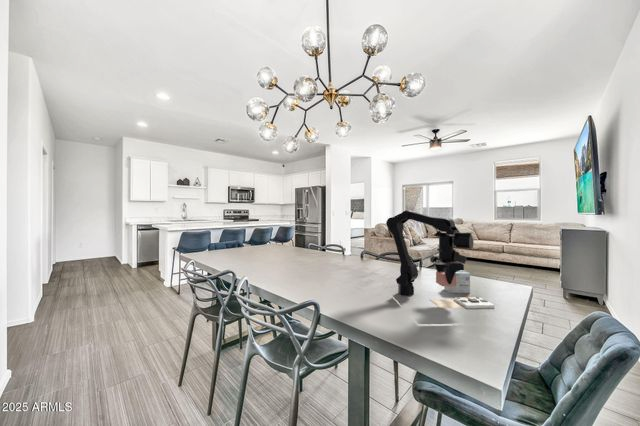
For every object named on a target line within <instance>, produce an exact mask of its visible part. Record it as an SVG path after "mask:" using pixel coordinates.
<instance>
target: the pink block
mask: <svg viewBox="0 0 640 426" xmlns="http://www.w3.org/2000/svg"><path fill="white" fill-rule="evenodd" d="M435 283H436V284H437V285H439V286H441V287H444V286H456V274H455V275H454V277H453V280H452V283H451V284H448V282H447V279H446V275H445V272H437V271H436V272H435Z"/></svg>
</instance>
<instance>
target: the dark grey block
mask: <svg viewBox="0 0 640 426" xmlns="http://www.w3.org/2000/svg"><path fill="white" fill-rule="evenodd" d="M468 301H470V302H472V303H479V301H478V300H477V299H468Z"/></svg>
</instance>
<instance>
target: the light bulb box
mask: <svg viewBox="0 0 640 426" xmlns="http://www.w3.org/2000/svg"><path fill="white" fill-rule="evenodd" d="M455 274H456V286H443V287H444V289H443V290H444V291H446V292H448V293H455V294H458V293H459V294H471V273H470V272H469V271H466V270H460V271H457V272H456V273H455Z"/></svg>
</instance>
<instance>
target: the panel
mask: <svg viewBox="0 0 640 426" xmlns="http://www.w3.org/2000/svg"><path fill="white" fill-rule="evenodd" d="M468 299H477V300H478V301H479V303H472V302H470V301H468ZM453 301H454V302H455V303H457V304H458V305H460V306H462V307H464V308H465V309H495V307H496V306H495V305H496V304H494V303H491V302H489V301H488V300H486V299H484V298H481V297H480V296H475V297H470V296H465V297H461V296H456V297H454V298H453Z"/></svg>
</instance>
